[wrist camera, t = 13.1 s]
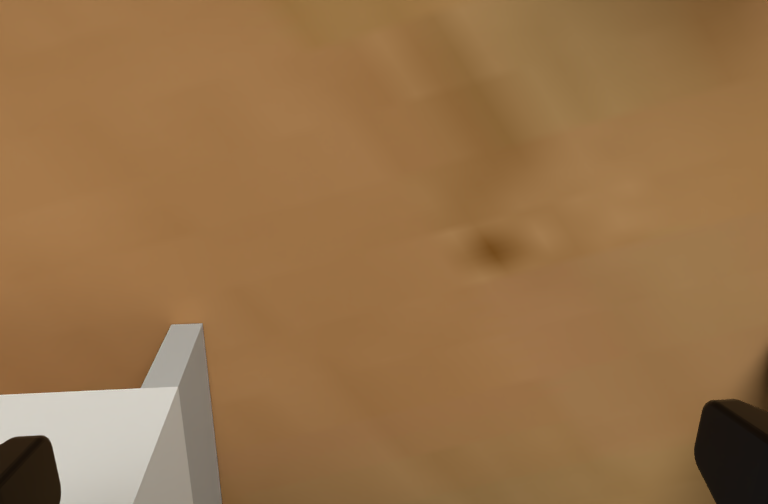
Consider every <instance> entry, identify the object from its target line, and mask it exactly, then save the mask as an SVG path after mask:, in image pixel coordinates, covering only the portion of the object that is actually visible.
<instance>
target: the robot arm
mask: <svg viewBox="0 0 768 504" xmlns="http://www.w3.org/2000/svg"><path fill="white" fill-rule="evenodd" d="M694 455H695V460H696V464H697V466H698V468H699V470H700V472H701V474H702V476H703V478H704V480H705V482H706V484H707V486H708V488H709V490H710V492H711V494H712V496H713V498H714V500H715V502H716V504H768V412H766V411H764V410H761V409H759V408H757V407H754V406H752V405H750V404H747V403H745V402H742V401H740V400H736V399H726V400H711V401H709V402H707V403H706V404H705V405H704V407H703V410H702V414H701V419H700V423H699V428H698V433H697V437H696V442H695V447H694ZM60 500H61V484H60V479H59V474H58V470H57V465H56V461H55V456H54V452H53V447H52V444H51V441H50V440H49V438H47V437H46V436H44V435H36V436H17V437H13V438H10V439H9V440H7V441H5V442H4V443H2V444H0V504H60Z"/></svg>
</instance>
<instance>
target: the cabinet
mask: <svg viewBox="0 0 768 504" xmlns="http://www.w3.org/2000/svg"><path fill="white" fill-rule="evenodd" d="M36 435H44V436H46V437H47V438H49V440H50V441H51V444H52V447H53V452H54V456H55V461H56V465H57V470H58V474H59V479H60V484H61V500H60V504H222V498H221V489H220V480H219V470H218V461H217V452H216V443H215V434H214V425H213V415H212V406H211V397H210V388H209V379H208V369H207V360H206V351H205V342H204V333H203V324H202V323H200V324H175V325H171V326H170V329H169V331H168V333H167V335H166V337H165V339H164V341H163V343H162V345H161V347H160V349H159V351H158V353H157V355H156V357H155V360H154V362H153V364H152V366H151V368H150V370H149V372H148V374H147V376H146V378H145V380H144V382H143V384H142V386H141V388H137V389H116V390H95V391H73V392H52V393H31V394H10V395H0V444H2V443H4V442H5V441H7V440H9V439H10V438H13V437H17V436H36Z"/></svg>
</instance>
